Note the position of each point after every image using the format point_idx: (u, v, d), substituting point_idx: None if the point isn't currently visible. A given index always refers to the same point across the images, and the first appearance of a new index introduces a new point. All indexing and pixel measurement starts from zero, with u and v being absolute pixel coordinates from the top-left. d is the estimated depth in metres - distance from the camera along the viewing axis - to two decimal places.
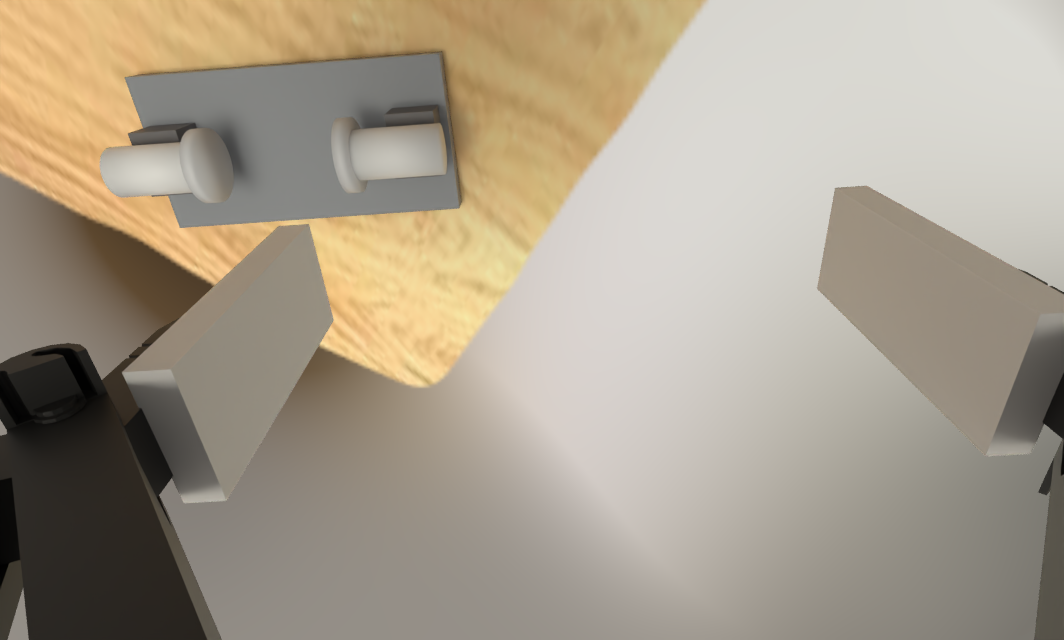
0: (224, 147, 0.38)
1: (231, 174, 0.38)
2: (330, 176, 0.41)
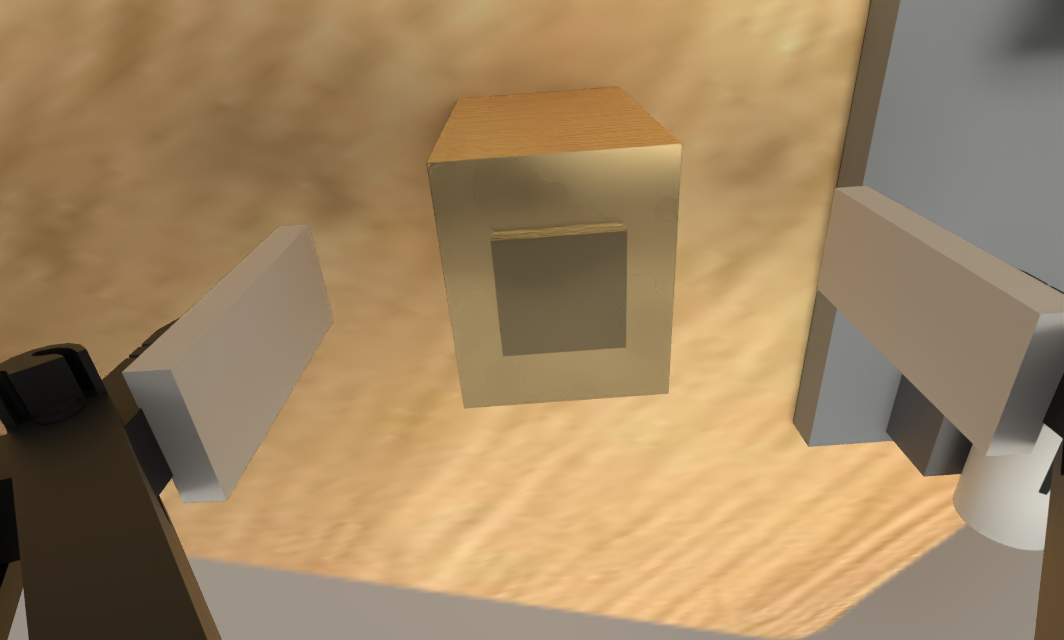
0: None
1: None
2: None
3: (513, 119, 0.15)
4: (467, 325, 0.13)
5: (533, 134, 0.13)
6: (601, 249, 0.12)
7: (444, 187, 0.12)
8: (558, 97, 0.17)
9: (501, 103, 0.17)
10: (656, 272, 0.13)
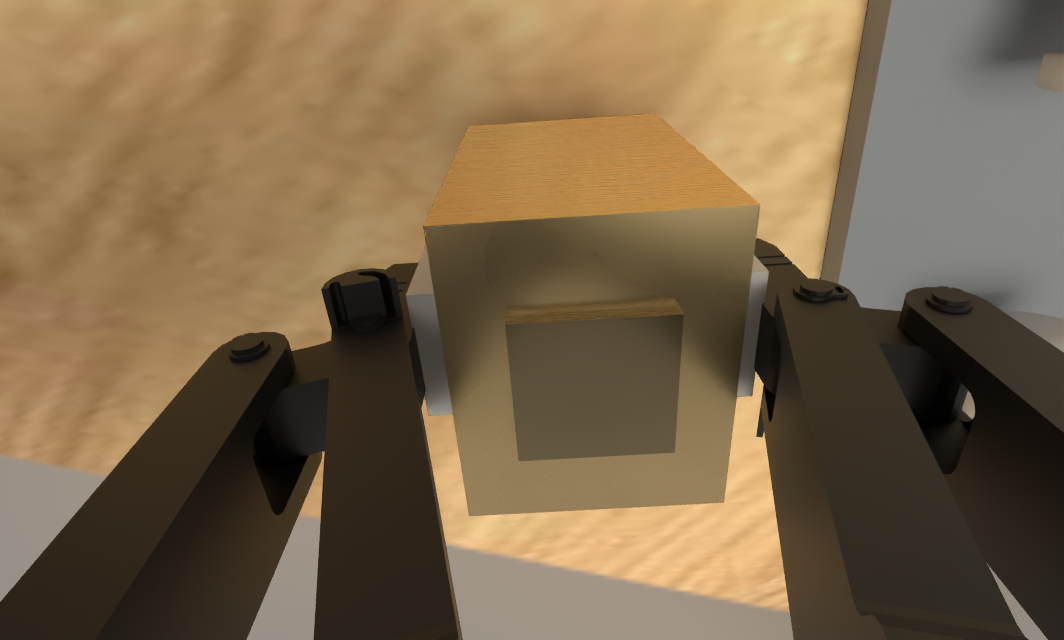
0: None
1: (1034, 316, 0.21)
2: None
3: (534, 158, 0.12)
4: (474, 422, 0.11)
5: (561, 182, 0.10)
6: (648, 336, 0.09)
7: (446, 256, 0.09)
8: (586, 127, 0.15)
9: (519, 134, 0.14)
10: (717, 362, 0.10)
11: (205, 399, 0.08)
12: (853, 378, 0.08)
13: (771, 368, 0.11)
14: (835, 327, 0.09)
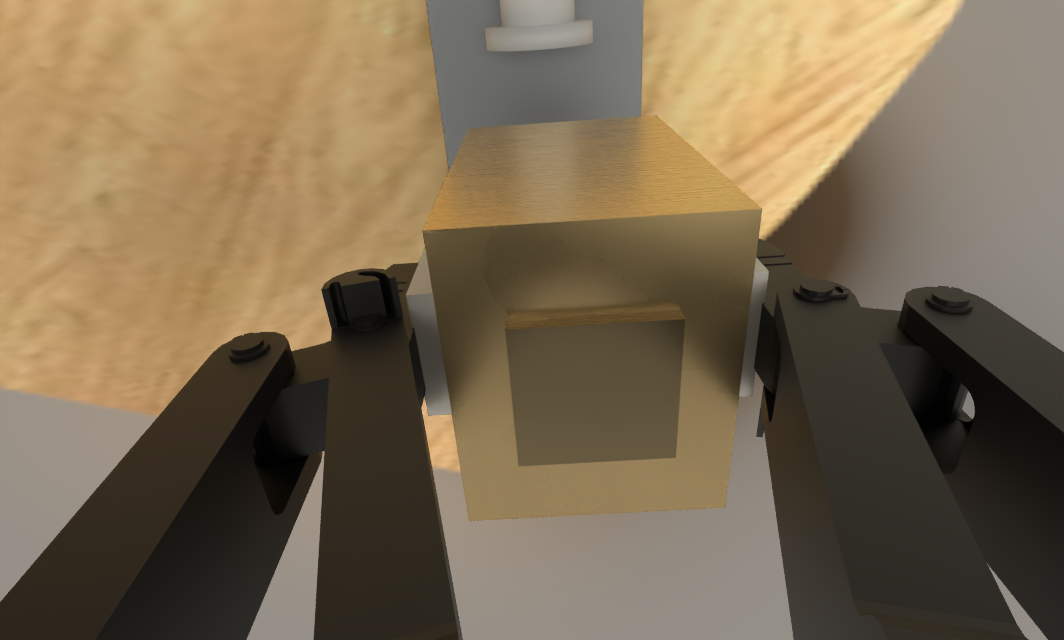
0: None
1: None
2: (583, 92, 0.29)
3: (534, 161, 0.12)
4: (474, 426, 0.11)
5: (561, 186, 0.10)
6: (650, 341, 0.09)
7: (446, 261, 0.09)
8: (587, 129, 0.15)
9: (519, 136, 0.14)
10: (718, 366, 0.10)
11: (205, 399, 0.08)
12: (853, 378, 0.08)
13: (771, 368, 0.11)
14: (835, 327, 0.09)
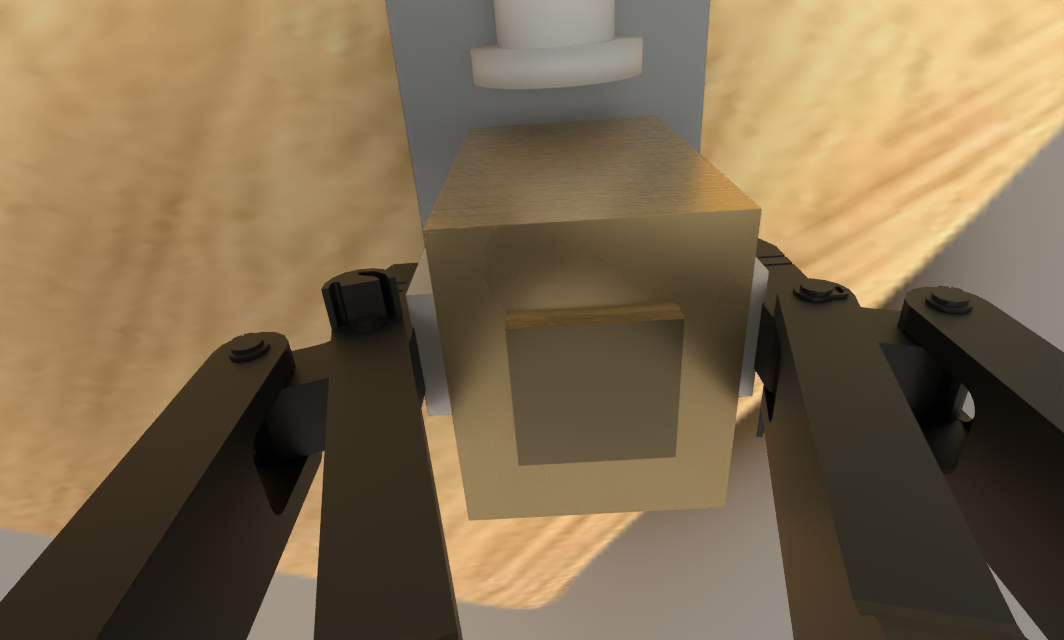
0: None
1: None
2: None
3: (534, 161, 0.12)
4: (474, 426, 0.11)
5: (561, 186, 0.10)
6: (649, 341, 0.09)
7: (446, 261, 0.09)
8: (587, 129, 0.15)
9: (519, 136, 0.14)
10: (718, 366, 0.10)
11: (205, 398, 0.08)
12: (853, 378, 0.08)
13: (771, 368, 0.11)
14: (835, 327, 0.09)
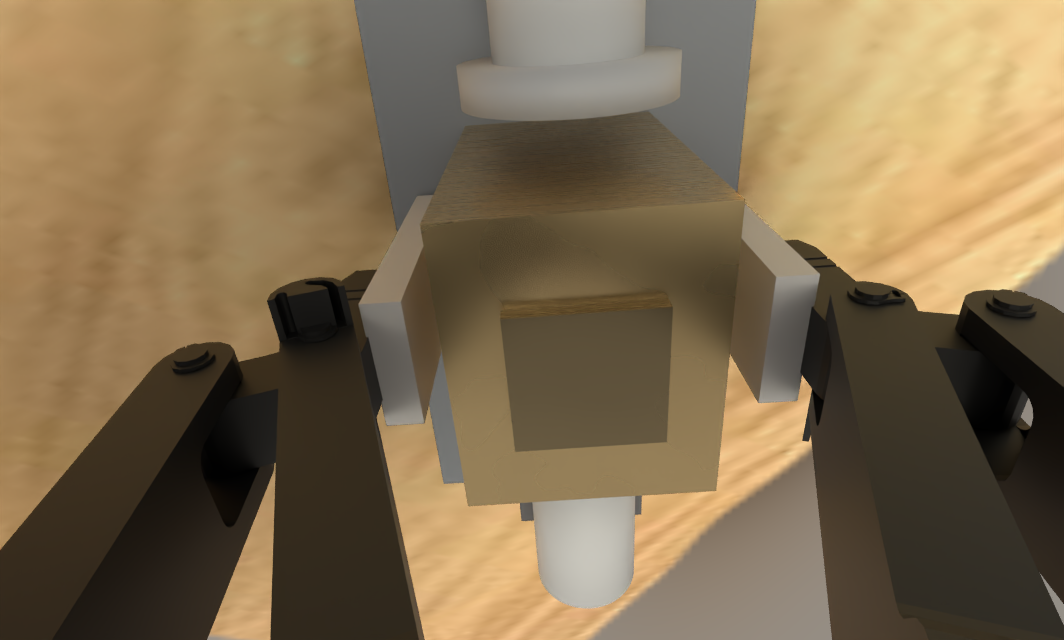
0: None
1: None
2: None
3: (528, 157, 0.13)
4: (472, 413, 0.11)
5: (553, 180, 0.11)
6: (639, 329, 0.10)
7: (442, 253, 0.09)
8: (580, 125, 0.15)
9: (514, 133, 0.15)
10: (706, 353, 0.10)
11: (149, 412, 0.08)
12: (907, 383, 0.08)
13: (821, 371, 0.10)
14: (889, 331, 0.09)
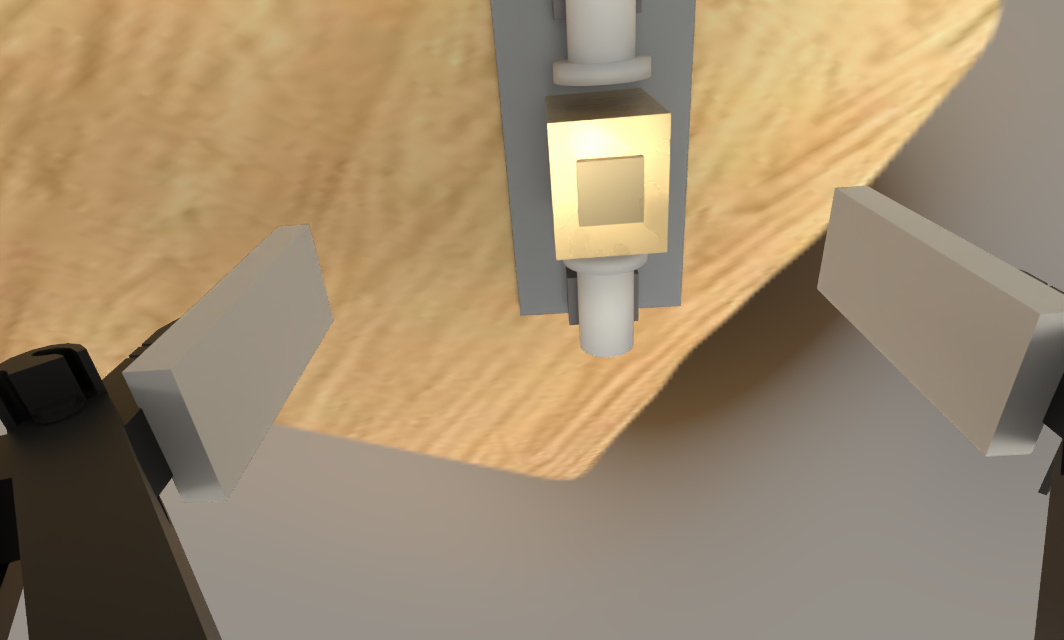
0: None
1: None
2: None
3: (583, 105, 0.27)
4: (561, 210, 0.26)
5: (596, 111, 0.26)
6: (631, 167, 0.25)
7: (554, 135, 0.24)
8: (605, 94, 0.30)
9: (572, 97, 0.30)
10: (659, 181, 0.25)
11: None
12: None
13: None
14: None
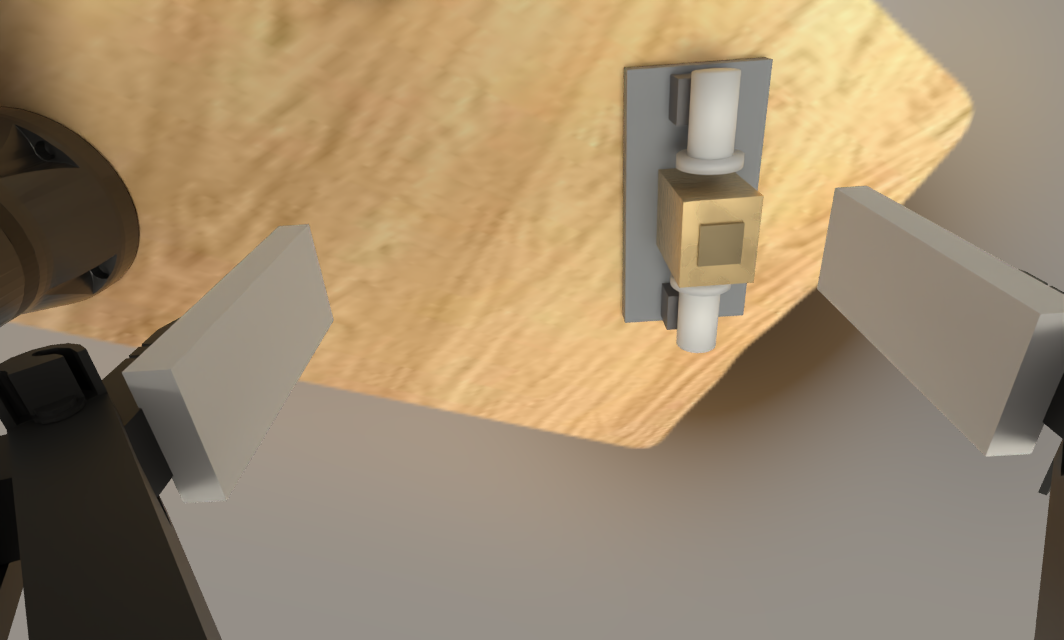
0: None
1: None
2: None
3: (695, 183, 0.41)
4: (686, 255, 0.39)
5: (709, 190, 0.39)
6: (736, 229, 0.38)
7: (687, 209, 0.38)
8: None
9: (681, 173, 0.43)
10: (752, 237, 0.39)
11: None
12: None
13: None
14: None
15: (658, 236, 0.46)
